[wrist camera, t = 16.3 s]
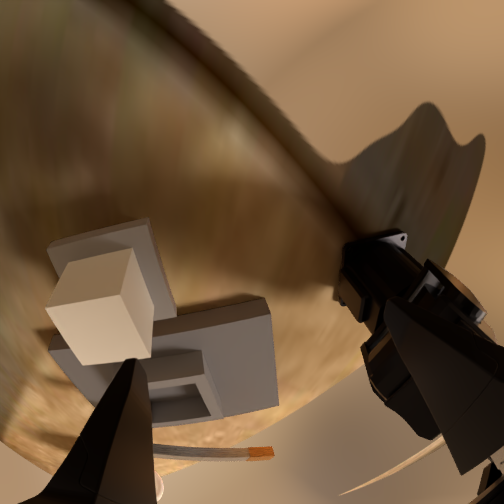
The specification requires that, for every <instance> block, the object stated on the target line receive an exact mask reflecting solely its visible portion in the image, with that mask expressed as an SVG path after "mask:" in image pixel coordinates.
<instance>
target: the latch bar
mask: <svg viewBox="0 0 504 504" xmlns="http://www.w3.org/2000/svg"><path fill="white" fill-rule="evenodd" d="M273 457H274V452H273V448H272V446H271V447H250V448H198V447H182V446H170V445H161V444H153V458H163V459H175V460H191V461H257V460H258V461H259V460H270V459H271V458H273Z"/></svg>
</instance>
